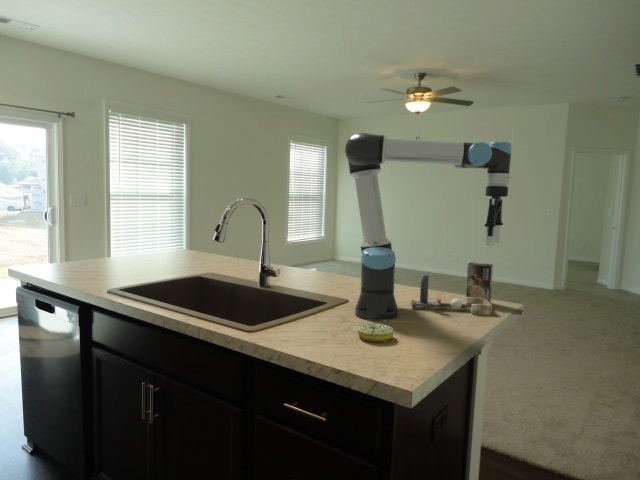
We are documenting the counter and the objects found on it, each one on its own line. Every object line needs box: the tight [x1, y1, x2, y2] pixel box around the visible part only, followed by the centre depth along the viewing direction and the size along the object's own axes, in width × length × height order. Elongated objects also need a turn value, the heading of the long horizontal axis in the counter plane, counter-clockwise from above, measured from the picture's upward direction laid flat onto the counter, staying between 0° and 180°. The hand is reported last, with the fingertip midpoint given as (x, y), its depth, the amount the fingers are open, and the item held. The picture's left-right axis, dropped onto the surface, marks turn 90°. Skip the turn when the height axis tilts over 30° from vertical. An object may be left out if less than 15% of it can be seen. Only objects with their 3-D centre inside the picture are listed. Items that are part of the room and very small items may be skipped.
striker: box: [414, 274, 442, 307], centre depth 171 cm, size 9×5×12 cm, turn 82°
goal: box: [465, 296, 493, 316], centre depth 169 cm, size 7×12×4 cm, turn 172°
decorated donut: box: [357, 322, 395, 343], centre depth 135 cm, size 10×11×4 cm
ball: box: [450, 298, 463, 308], centre depth 170 cm, size 4×4×4 cm
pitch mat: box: [410, 304, 472, 315], centre depth 170 cm, size 28×12×1 cm, turn 82°
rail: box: [410, 299, 471, 313], centre depth 171 cm, size 21×8×2 cm, turn 82°
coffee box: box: [465, 262, 494, 305], centre depth 180 cm, size 9×6×16 cm
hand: (492, 244), depth 166 cm, fingers open, 13 cm apart
